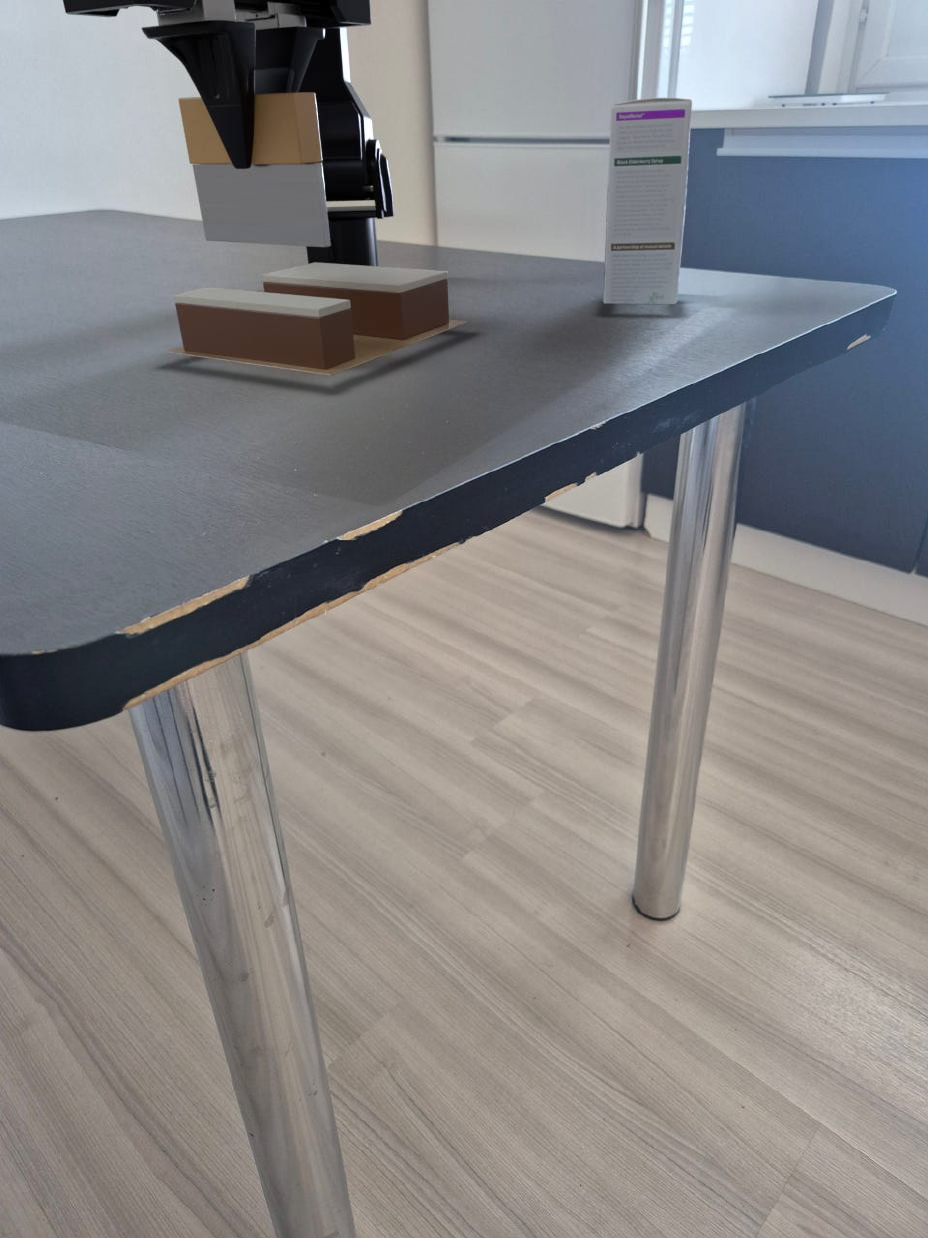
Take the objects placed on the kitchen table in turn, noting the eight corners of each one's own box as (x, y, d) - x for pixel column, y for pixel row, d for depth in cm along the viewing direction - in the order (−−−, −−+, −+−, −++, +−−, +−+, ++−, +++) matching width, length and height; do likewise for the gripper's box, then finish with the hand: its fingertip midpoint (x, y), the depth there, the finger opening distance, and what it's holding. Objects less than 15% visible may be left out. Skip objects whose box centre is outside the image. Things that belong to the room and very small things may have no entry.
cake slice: (216, 340, 58) (207, 286, 56) (355, 358, 53) (350, 299, 51) (183, 350, 56) (172, 294, 54) (325, 369, 51) (318, 308, 49)
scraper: (197, 241, 55) (171, 98, 51) (219, 237, 56) (195, 97, 52) (317, 249, 51) (299, 91, 46) (338, 244, 52) (322, 91, 48)
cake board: (319, 319, 68) (318, 306, 68) (469, 335, 62) (468, 320, 61) (168, 366, 56) (164, 351, 56) (333, 391, 50) (331, 374, 50)
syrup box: (676, 316, 65) (698, 95, 58) (599, 316, 66) (610, 99, 59) (676, 302, 70) (695, 96, 62) (604, 301, 71) (614, 99, 64)
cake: (320, 309, 66) (314, 262, 65) (449, 322, 61) (447, 270, 59) (268, 325, 62) (261, 274, 60) (403, 340, 57) (399, 285, 55)
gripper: (223, -122, 54) (261, 158, 62) (-59, -192, 40) (38, 178, 48) (364, -151, 49) (385, 157, 57) (98, -243, 35) (176, 180, 43)
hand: (256, 167), depth 51 cm, fingers closed on scraper, 2 cm apart
